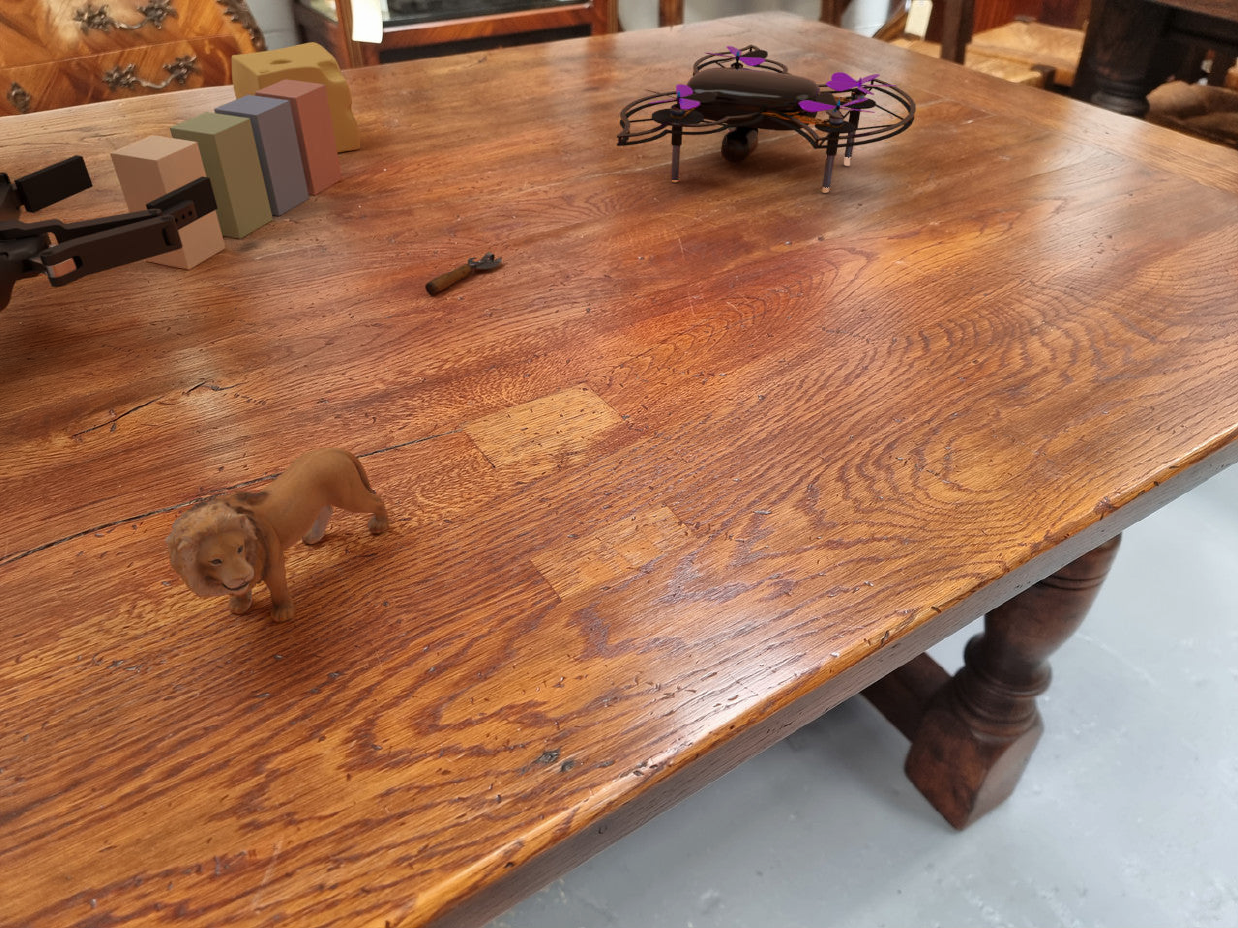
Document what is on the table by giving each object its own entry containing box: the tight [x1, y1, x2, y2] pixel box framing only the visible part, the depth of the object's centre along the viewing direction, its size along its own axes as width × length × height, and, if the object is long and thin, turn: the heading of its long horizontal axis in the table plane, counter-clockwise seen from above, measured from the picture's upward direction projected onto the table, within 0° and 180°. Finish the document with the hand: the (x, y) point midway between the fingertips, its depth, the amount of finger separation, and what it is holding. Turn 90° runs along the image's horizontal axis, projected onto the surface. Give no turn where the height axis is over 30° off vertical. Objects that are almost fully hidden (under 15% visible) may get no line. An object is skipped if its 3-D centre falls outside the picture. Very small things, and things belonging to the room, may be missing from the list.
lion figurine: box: [165, 447, 390, 623], centre depth 50 cm, size 15×5×9 cm, turn 161°
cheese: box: [231, 41, 361, 153], centre depth 107 cm, size 10×11×10 cm
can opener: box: [424, 251, 503, 295], centre depth 82 cm, size 9×2×1 cm, turn 140°
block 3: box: [213, 95, 310, 217], centre depth 93 cm, size 5×5×10 cm
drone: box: [616, 44, 917, 188], centre depth 102 cm, size 40×10×28 cm
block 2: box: [169, 111, 274, 240], centre depth 88 cm, size 5×5×10 cm
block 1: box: [109, 134, 226, 271], centre depth 83 cm, size 5×5×10 cm
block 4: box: [255, 79, 343, 196], centre depth 97 cm, size 5×5×10 cm
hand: (146, 181), depth 80 cm, fingers open, 13 cm apart
